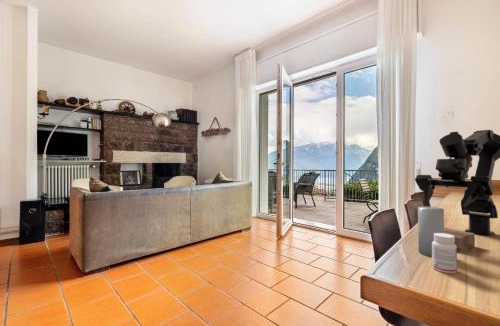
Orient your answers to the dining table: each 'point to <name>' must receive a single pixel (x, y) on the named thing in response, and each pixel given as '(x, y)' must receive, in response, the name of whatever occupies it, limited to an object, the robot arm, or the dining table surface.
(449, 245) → the pill bottle
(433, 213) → the grey cylinder
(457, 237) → the walnut box
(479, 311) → the dining table surface
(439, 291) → the dining table surface
